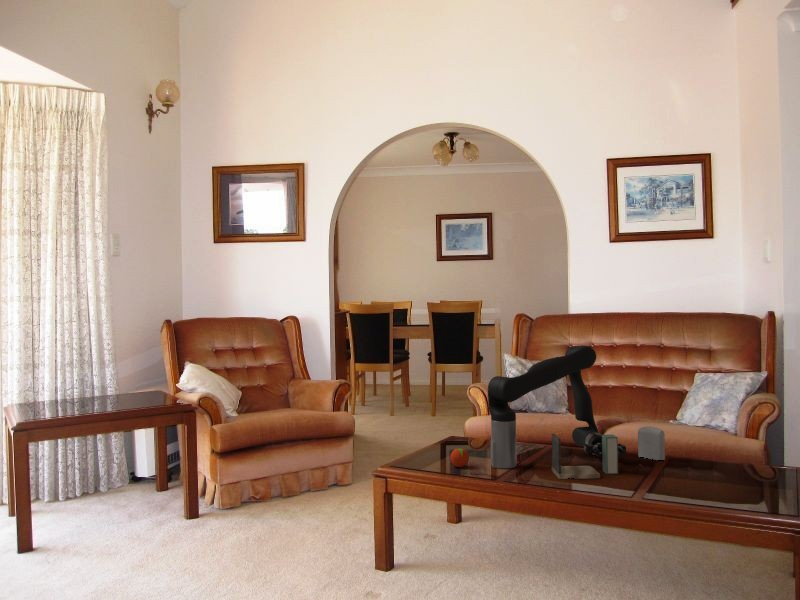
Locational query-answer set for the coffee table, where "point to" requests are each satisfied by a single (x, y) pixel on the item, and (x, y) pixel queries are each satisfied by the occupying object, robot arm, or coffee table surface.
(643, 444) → the photo printer
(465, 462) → the tomato
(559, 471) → the desktop book rack
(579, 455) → the coffee table surface
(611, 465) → the tall sage green prism
